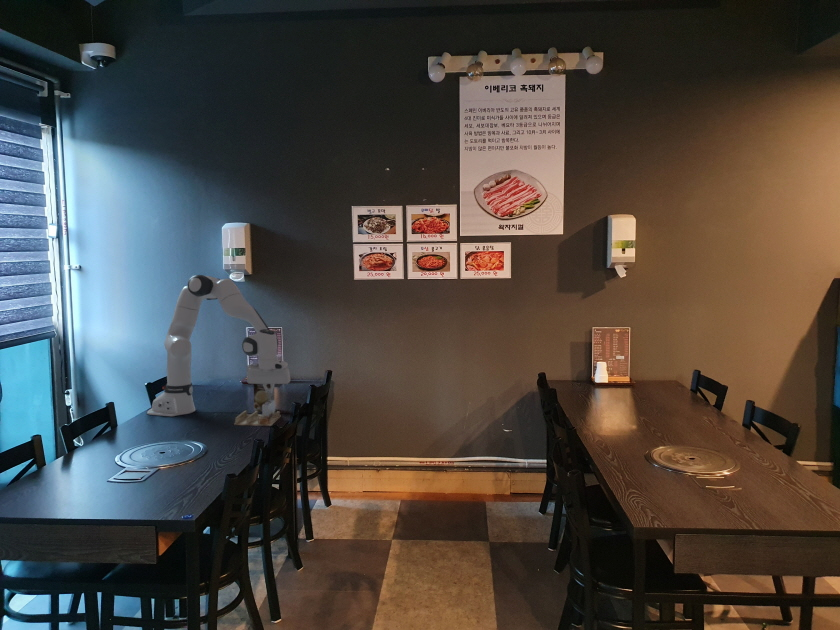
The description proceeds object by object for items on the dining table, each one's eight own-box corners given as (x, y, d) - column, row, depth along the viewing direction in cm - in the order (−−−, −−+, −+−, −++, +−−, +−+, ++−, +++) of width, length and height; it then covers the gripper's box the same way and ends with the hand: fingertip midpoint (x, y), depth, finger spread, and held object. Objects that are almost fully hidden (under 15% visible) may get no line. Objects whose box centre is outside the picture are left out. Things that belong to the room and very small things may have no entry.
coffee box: (253, 411, 298) (252, 380, 297) (258, 408, 305) (257, 377, 303) (271, 412, 298) (270, 380, 296) (275, 408, 304) (274, 378, 302)
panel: (262, 421, 277) (262, 405, 277) (269, 415, 287) (268, 399, 286) (268, 422, 277) (268, 405, 276) (275, 416, 287) (275, 399, 286)
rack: (234, 425, 276) (234, 418, 275) (245, 415, 291) (245, 409, 290) (270, 425, 275) (270, 419, 274) (280, 416, 290) (280, 410, 289)
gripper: (244, 365, 277) (245, 394, 278) (287, 365, 276) (288, 394, 277) (248, 362, 283) (249, 390, 285) (291, 362, 282) (291, 391, 284)
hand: (269, 392), depth 281 cm, fingers closed
